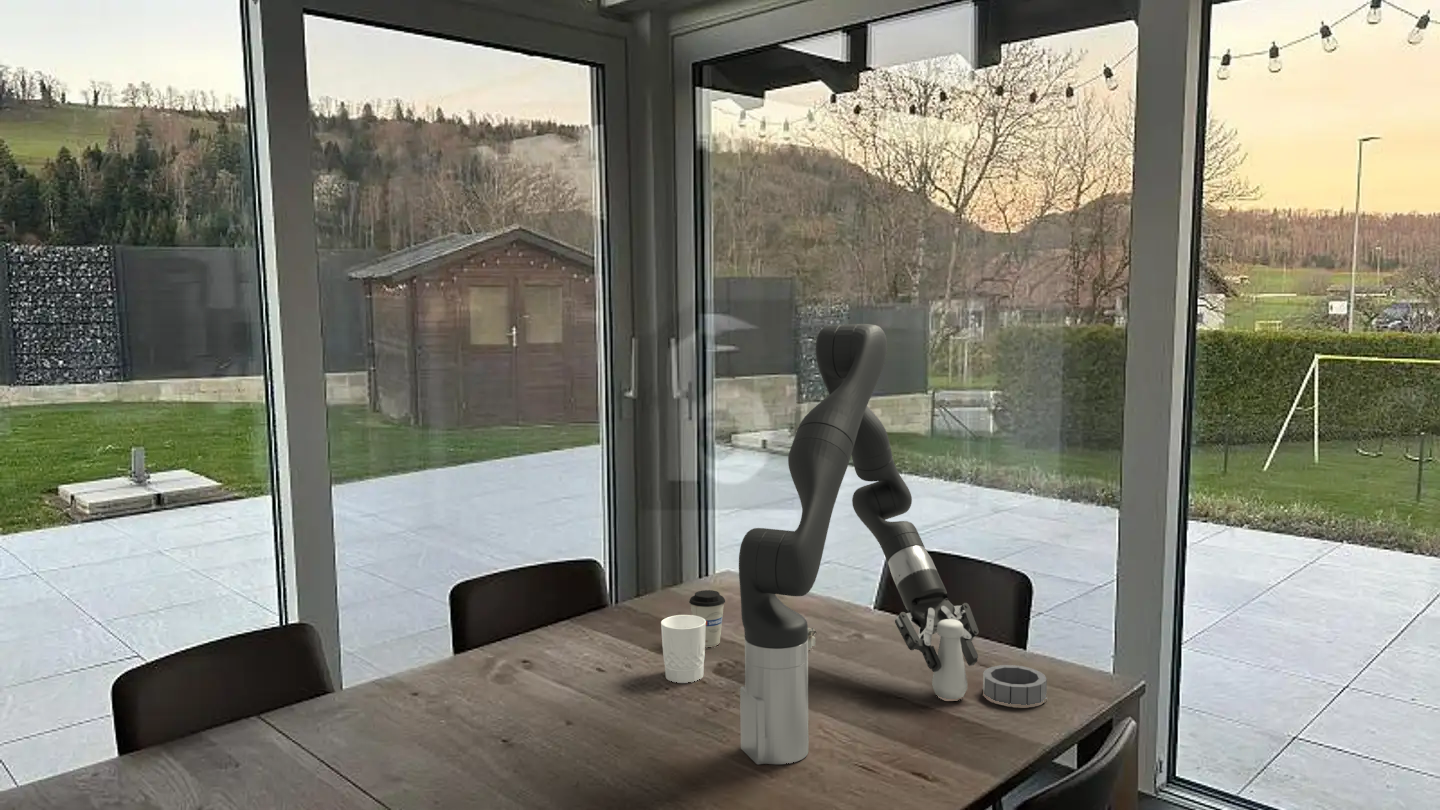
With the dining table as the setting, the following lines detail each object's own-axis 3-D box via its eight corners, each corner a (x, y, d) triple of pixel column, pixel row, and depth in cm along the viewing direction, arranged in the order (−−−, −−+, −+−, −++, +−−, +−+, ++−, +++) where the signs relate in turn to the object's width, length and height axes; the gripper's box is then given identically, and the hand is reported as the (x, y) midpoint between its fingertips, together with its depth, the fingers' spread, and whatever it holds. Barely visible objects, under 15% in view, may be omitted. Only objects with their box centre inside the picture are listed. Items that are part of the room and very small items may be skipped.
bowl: (1008, 712, 167) (1008, 691, 167) (969, 690, 176) (969, 670, 176) (1060, 702, 171) (1061, 681, 170) (1019, 680, 180) (1020, 661, 180)
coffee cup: (684, 641, 203) (683, 591, 202) (716, 636, 206) (716, 586, 205) (698, 652, 197) (697, 600, 196) (731, 646, 200) (731, 595, 198)
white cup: (709, 669, 188) (708, 615, 187) (704, 685, 180) (703, 629, 179) (665, 668, 189) (664, 614, 188) (658, 684, 181) (657, 628, 180)
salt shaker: (967, 705, 170) (968, 627, 169) (931, 702, 171) (932, 626, 170) (966, 691, 176) (967, 616, 174) (932, 689, 177) (932, 615, 176)
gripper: (888, 572, 176) (927, 662, 166) (960, 562, 181) (1002, 649, 171) (872, 594, 181) (909, 683, 171) (942, 584, 186) (982, 670, 177)
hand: (955, 666), depth 171 cm, fingers open, 6 cm apart
